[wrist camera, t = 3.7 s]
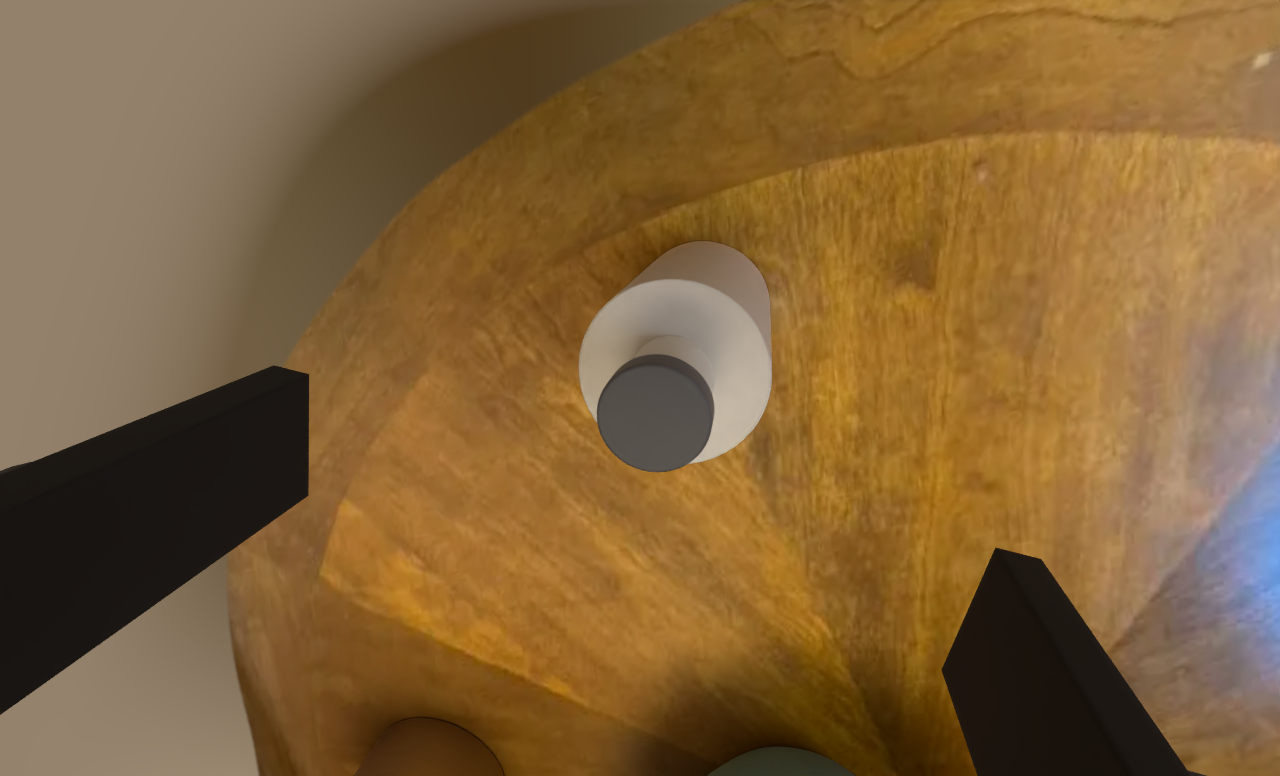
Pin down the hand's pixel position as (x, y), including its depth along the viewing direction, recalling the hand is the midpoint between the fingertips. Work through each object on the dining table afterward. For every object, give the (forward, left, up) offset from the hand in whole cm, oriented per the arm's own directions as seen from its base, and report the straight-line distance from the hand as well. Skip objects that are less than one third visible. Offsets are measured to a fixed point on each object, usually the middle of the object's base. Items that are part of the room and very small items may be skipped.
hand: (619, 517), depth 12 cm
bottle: (0, 0, -18) cm, 18 cm away
